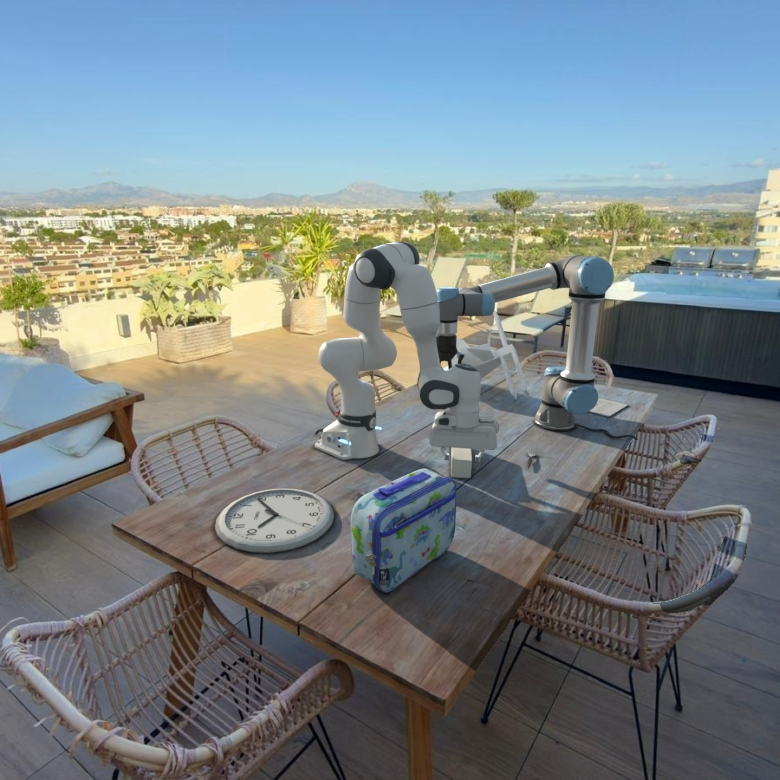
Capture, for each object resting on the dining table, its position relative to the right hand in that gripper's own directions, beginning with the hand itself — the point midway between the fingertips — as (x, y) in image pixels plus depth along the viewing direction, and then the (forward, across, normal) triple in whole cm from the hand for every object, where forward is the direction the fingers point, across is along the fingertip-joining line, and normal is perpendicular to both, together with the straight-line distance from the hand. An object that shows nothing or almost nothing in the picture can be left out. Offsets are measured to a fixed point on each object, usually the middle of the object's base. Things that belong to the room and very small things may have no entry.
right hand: (442, 400), depth 183 cm
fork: (+16, -30, +12) cm, 36 cm away
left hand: (+10, -7, +26) cm, 29 cm away
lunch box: (+15, +6, +74) cm, 76 cm away
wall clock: (+15, +41, +59) cm, 74 cm away
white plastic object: (+16, -16, -61) cm, 65 cm away
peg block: (+16, -7, +16) cm, 23 cm away
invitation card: (+16, -68, -49) cm, 85 cm away
